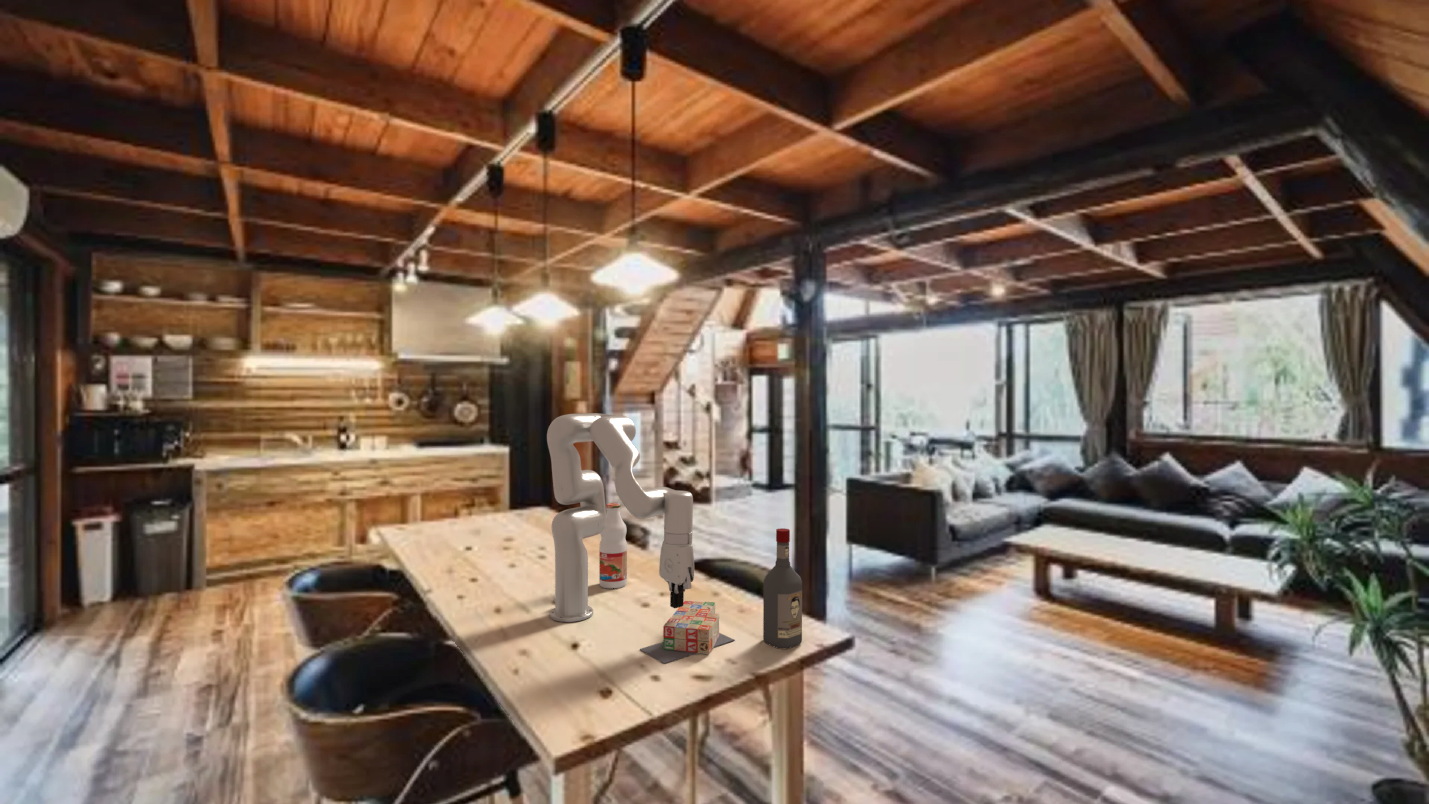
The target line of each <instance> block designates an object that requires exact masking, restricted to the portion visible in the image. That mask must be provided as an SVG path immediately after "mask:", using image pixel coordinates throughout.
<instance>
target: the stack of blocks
mask: <svg viewBox="0 0 1429 804" xmlns="http://www.w3.org/2000/svg"><path fill="white" fill-rule="evenodd" d="M662 628H663V631H662V632H663V635H662V636H663V641H662V642H663V649H665V650H673V651H674V650H677V651H686V652H693V653H697V654H704V655H710V653H711V652H712V650H713V649H714V648H713V647H714V645H715V643H716V641H717V639H718V637H719V633H720V614H719V613H716V602H714V601H692V600H684V601H683V606H682V607H679V608H676V611H675V612H674V613H673V614H672V616H671V617H670V618H669V619H668V620H667V621H666V622H665V623H664V624H663V627H662Z"/></svg>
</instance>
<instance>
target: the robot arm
mask: <svg viewBox="0 0 1429 804" xmlns="http://www.w3.org/2000/svg"><path fill="white" fill-rule="evenodd" d="M636 433H637V430H636V425H635V423H634V422H633V420H632V419H630V418H629V417H628V416H625V415H620V414H619V415H616V414H607V413H595V412H594V413H589V412H588V413H587V412H586V413H568V414H563V415H560V416H557V417H556V418H555V419H553V420H552V421H551V423H550V425H549V426H548V429H547V433H546V442H547V448H548V451H549V455H550V461H551V472H552V473H551V474H552V483H553V484H552V486H553V494H554V498H555V501H556V502H557V503H559V504H560V505H563V506H564V505H567V506H568V505H574V504H579V503H580V505H579V506H577V507H573V508H568V509H565V510H562V511H560V512H558V513H557V514H555V515H554V517H553V518H552V521H551V534H552V538H553V543H554V545H553V546H554V569H555V570H554V577H555V578H554V582H555V583H554V588H555V589H554V591H555V593H554V598H553V601H554V605H555V606H554V608H553V609H552V610H550V612H549V617H550V619H551V620H553V621H556V622H562V623H572V622H575V623H576V622H579V621H580V622H581V621H584V620H587V619H589V618H591V617H592V616H593V615H594V608H593V607H592V606H590V605H589V559H588V558H589V556H588V551H587V548H586V546H585V544H584V542H583V540H584V539H586V538H587V539H588V538H591V537H594V536H597V535H601V534H600V533H601V532H602V531H603V530H604V528H605V525H606V513H607V509H606V497H605V488H604V487H605V486H604V484H603V480H602V477H601V476H600V475H599V474H598V472H596V471H594V470H592V469H582V461H581V455H580V453H579V451H578V449H577V448H576V446H574V444H576V443H586V442H594V444H595V445H596V446H597V448H598V450H600V452H601V454H602V455H603V456H604V458H605V459H606V460H607V462H608V464H609V465H610V466H611V468H612V469H613V471H614V474H613V476H614V477H613V479H614V480H613V481H614V487H615V492H616V494H617V496H618V497H617V498H619V500H620V501H621V503H622V505H623V506H624V508H625V509H626V510H627V512H629V513H630V514H631V515H632V516H633V517H635V518H636V519H640V520H645V519H649V518H652V517H657V516H661V515H664V520H663V521H664V522H663V540H662V544H661V549H660V554H659V566H658V567H659V568H658V569H659V570H658V571H659V575H658V576H659V577H660V578H661V579H663V580H664V581H665V582H666V583H667V584H668V590H669V593H670V594H669V595H670V597H669V598H670V599H669V600H670V601H669V602H670V603H669V606H670V607H671V608H672V609H678V608H679V607H682V606H683V602H684V601H685V600H684V596H685V595H684V594H685V592H686V590H689V589H692V582H693V581H694V579H695V557H694V556H695V554H694V548H693V522H694V521H693V518H694V517H693V516H694V515H693V513H694V509H693V507H694V497H693V494H692V493H691V492H690V491H686V490H677V489H676V490H675V489H672V488H670V487H667V486H657V487H652V488H650V487H649V488H647V489H643V488H642V487H641V485H640V484H639V483H638V482H637V480H636V478H635V476H634V473H633V468H634V467H635V466H636V465H637V464H638V462H640V459H641V453H640V451H639V450H638V448H637V447H636V446H635V445H634V444H633V441H634V439H635V437H636Z"/></svg>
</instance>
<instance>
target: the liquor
mask: <svg viewBox="0 0 1429 804" xmlns="http://www.w3.org/2000/svg"><path fill="white" fill-rule="evenodd" d="M790 532H791V531H790V529H789V528H785V527H784V528H781V527H780V528H776V533H775V537H776V538H775V541H776V558H775V559H776V561H775V562H774V563H775V565H774V566H773V567H772V568H771V569H770V570H769V571H768V573H766V574H765V576H764V578H763V592H762V593H763V599H762V600H763V601H762V603H763V608H762V610H763V617H762V618H763V619H762V620H763V623H762V626H763V627H762V630H763V631H762V634H763V636H762V637H763V638H762V639H763V641H764V643H765V644H767V645H769V644H770V645H769V646H771V647H773V646H774V648H776V647H777V648H776V649H778V648H789V649H791V648H794V647H796V645H797V646H799V645H801V643H802V642H803V580H802V577H801V576H800V575H799V574H798V573H797V571H795V569H794V568H793V567H792V565H791V562H790V541H791V540H790V539H791V536H790V535H791V534H790ZM798 644H799V645H798ZM793 646H794V647H793ZM790 647H791V648H790Z"/></svg>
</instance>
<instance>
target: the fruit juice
mask: <svg viewBox="0 0 1429 804" xmlns="http://www.w3.org/2000/svg"><path fill="white" fill-rule="evenodd" d="M605 508H606V525H605V528H604V530H603V531H602V532H601V533H600V534H599V535H600V537H601V539H600V541H599V549H598V550H599V551H598V552H599V561H598V563H599V564H598V565H599V574H598V575H599V586H600V587H601V588H602V589H603V588H604V589H613V588H614V589H620V588H624V587H625V586H626V585H627V582H628V543H627V540H626V535H627V525H626V523H625V522H624V521H623V519H622V516H621V511H620V509H621V503H618V502H610V503H605Z"/></svg>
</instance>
